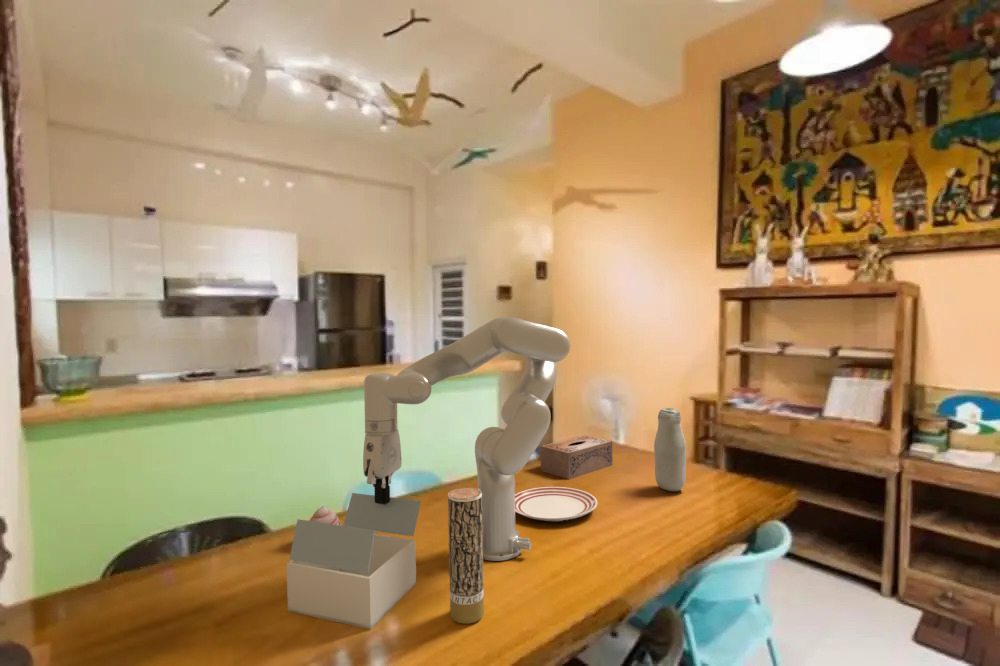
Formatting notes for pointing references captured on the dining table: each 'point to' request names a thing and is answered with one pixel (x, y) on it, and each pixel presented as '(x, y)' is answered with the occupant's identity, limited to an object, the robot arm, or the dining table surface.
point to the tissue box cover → (576, 456)
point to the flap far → (382, 514)
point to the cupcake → (325, 516)
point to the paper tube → (466, 555)
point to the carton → (354, 585)
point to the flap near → (332, 545)
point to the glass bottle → (670, 451)
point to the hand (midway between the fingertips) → (382, 502)
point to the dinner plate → (554, 503)
